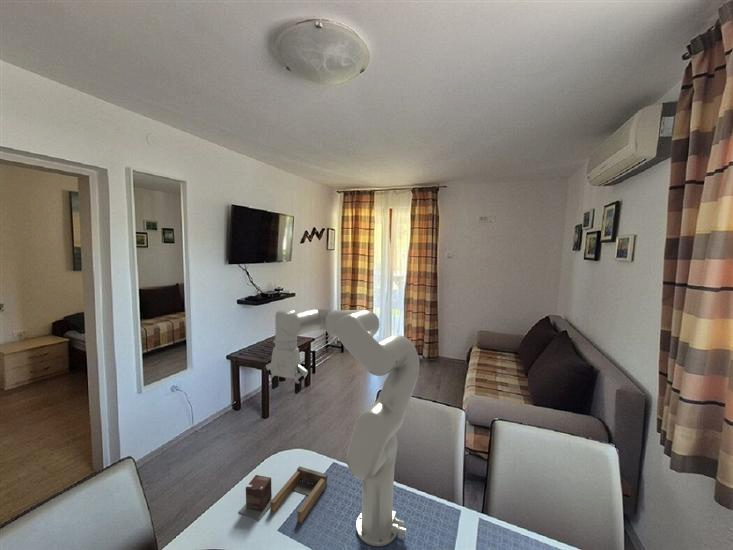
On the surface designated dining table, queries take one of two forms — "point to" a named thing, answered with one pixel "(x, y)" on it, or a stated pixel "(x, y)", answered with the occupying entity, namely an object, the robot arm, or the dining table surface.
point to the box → (258, 493)
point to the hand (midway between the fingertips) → (286, 390)
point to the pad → (254, 511)
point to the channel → (301, 490)
